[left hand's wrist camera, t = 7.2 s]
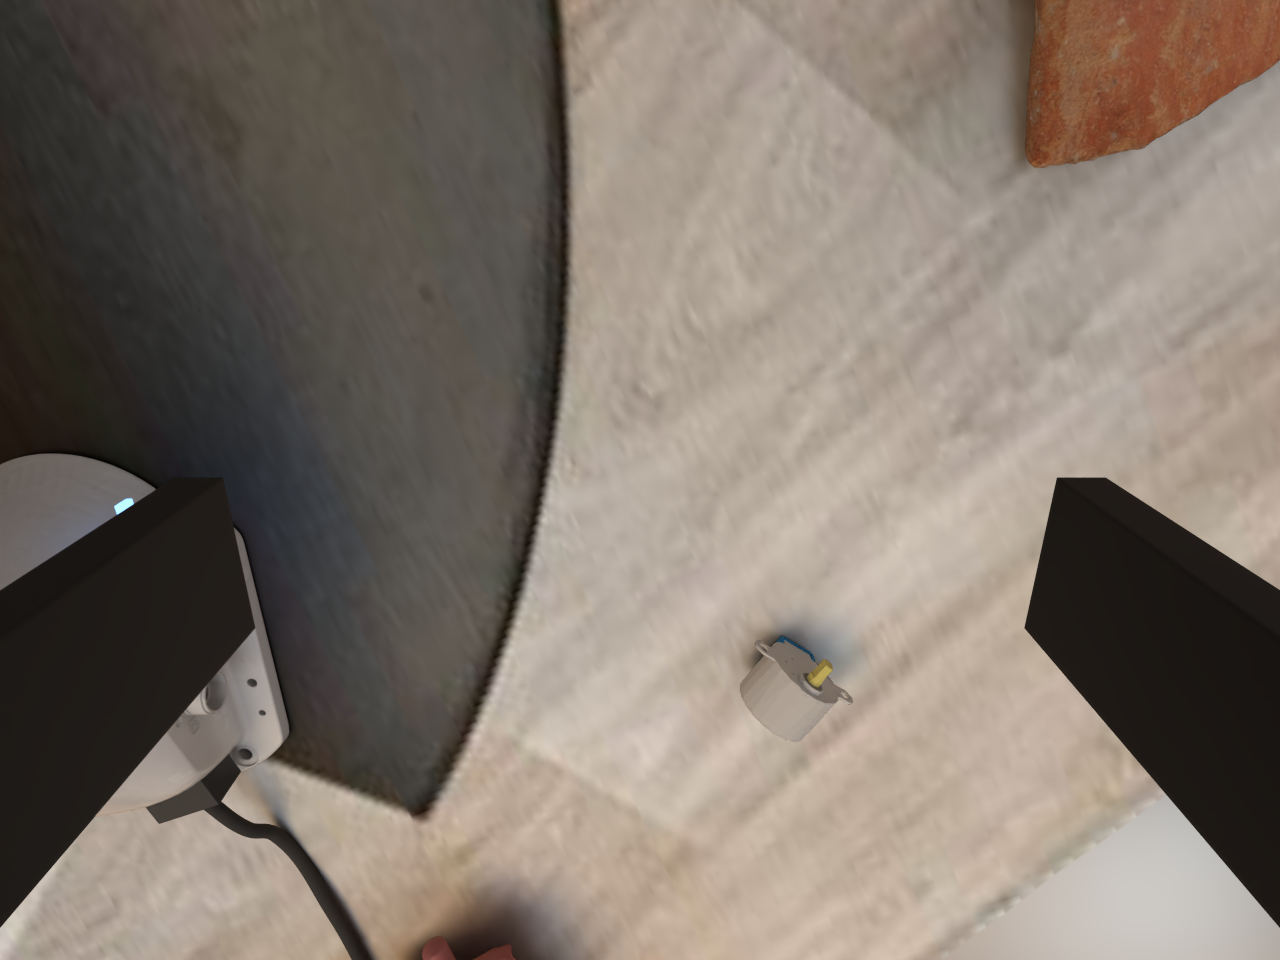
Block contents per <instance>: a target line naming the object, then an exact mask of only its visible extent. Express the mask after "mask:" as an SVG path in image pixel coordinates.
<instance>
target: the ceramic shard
mask: <svg viewBox="0 0 1280 960" xmlns="http://www.w3.org/2000/svg"><path fill="white" fill-rule="evenodd" d="M1034 4H1035V28H1034V42H1033V46H1032V50H1031V59H1030V71H1029V84H1028V98H1027V119H1026V140H1025V151H1026V157H1027V159H1028V161H1029V163H1030V164H1031V165H1032V166H1033V167H1038V168H1044V167H1048V166H1052V165H1062V164H1066V163H1067V164H1076V163H1079V162H1082V161H1088V160H1094V159H1096V158H1098V157H1101V156H1105V155H1109V154H1113V153H1118V152H1123V151H1128V150H1132V149H1135V150H1138V149H1142V148H1144V147H1146V146H1147V145H1148V144H1150V143H1151V142H1152V141H1153V140H1155V139H1156V138H1159V137H1161V136H1163V135H1165V134H1166V133H1168V132H1169V131H1171V130H1172V129H1173V128H1175V127H1177V126H1179V125H1180V124H1182V123H1184V122H1186V121H1188V120H1190V119H1192V118H1193V117H1195V116H1197V115H1199V114H1200V113H1201V112H1202V111H1204V110H1205V109H1206V108H1207V107H1208V106H1209V105H1211V104H1212V103H1214V102H1215V101H1217V100H1218V99H1219V98H1221V97H1223V96H1225V95H1227V94H1228V93H1230V92H1231V91H1233V90H1234V89H1235V88H1237V87H1238V86H1240V85H1242V84H1244V83H1247V82H1249V81H1251V80H1253V79H1255V78H1257V77H1258V76H1260V75H1261V74H1262V73H1264V72H1265V71H1266V70H1268V69H1269V68H1271V67H1272V66H1273V65H1275V64H1276V63H1277V62H1278V61H1279V60H1280V0H1034Z"/></svg>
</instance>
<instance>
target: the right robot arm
mask: <svg viewBox="0 0 1280 960" xmlns="http://www.w3.org/2000/svg"><path fill="white" fill-rule="evenodd" d="M154 490H156V489H155V488H154V487H152V486H151V485H149V484H148V483H146V482H145V481H143V480H141V479H140V478H138V477H136V476H134V475H133V474H131V473H128V472H126V471H124V470H122V469H120V468H118V467H115V466H113V465H110V464H107V463H105V462H102V461H98V460H95V459H91V458H87V457H82V456H77V455H70V454H55V453H48V454H35V455H28V456H23V457H19V458H15V459H12V460H10V461H7V462H4V463H2V464H0V590H1V589H3V588H4V587H6V586H7V585H9V584H11V583H12V582H14V581H15V580H17V579H18V578H20V577H21V576H23V575H24V574H26V573H28V572H29V571H31V570H32V569H34V568H35V567H37V566H38V565H40V564H41V563H43V562H45V561H46V560H48V559H49V558H51V557H52V556H54V555H55V554H57V553H59V552H60V551H62V550H63V549H65V548H66V547H68V546H69V545H71V544H72V543H74V542H76V541H77V540H79V539H80V538H82V537H83V536H85V535H86V534H88V533H89V532H91V531H93V530H94V529H96V528H97V527H99V526H100V525H102V524H103V523H105V522H106V521H108V520H110V519H111V518H113V517H114V516H116V515H117V514H119V513H120V512H122V511H124V510H125V509H127V508H128V507H130V506H131V505H133V504H134V503H136V502H137V501H139V500H141V499H142V498H144V497H145V496H147V495H148V494H150V493H151V492H153V491H154ZM234 531H235V535H236V540H237V545H238V549H239V554H240V559H241V563H242V568H243V572H244V577H245V582H246V586H247V591H248V596H249V600H250V605H251V609H252V614H253V619H254V623H255V629H254V630H253V632H252V633H251V634H250V635H249V636H248V637H247V639H246V640H245V641H244V642H243V643H242V644H241V646H240V647H239V648H238V649H237V650H236V651H235V653H234V654H233V655H232V656H231V657H230V659H229V660H228V661H227V662H226V663H225V664H224V666H223V667H222V668H221V669H220V670H219V671H218V673H217V674H216V675H215V676H214V677H213V678H212V680H211V681H210V682H209V683H208V684H207V686H206V687H205V688H204V689H203V690H202V691H201V693H200V694H199V695H198V696H197V697H196V698H195V700H194V701H193V702H192V703H191V704H190V705H189V707H188V708H187V709H186V710H185V711H184V713H183V714H182V715H181V716H180V717H179V718H178V720H177V721H176V722H175V723H174V724H173V725H172V727H171V728H170V729H169V730H168V731H167V732H166V734H165V735H164V736H163V737H162V738H161V739H160V741H159V742H158V743H157V744H156V745H155V747H154V748H153V749H152V750H151V751H150V752H149V754H148V755H147V756H146V757H145V758H144V759H143V761H142V762H141V763H140V764H139V765H138V766H137V768H136V769H135V770H134V771H133V772H132V774H131V775H130V776H129V777H128V778H127V779H126V781H125V782H124V783H123V784H122V785H121V786H120V788H119V789H118V790H117V791H116V792H115V793H114V795H113V796H112V797H111V798H110V799H109V801H108V802H107V803H106V804H105V805H104V806H103V808H102V809H101V810H100V811H99V812H98V813H97V815H96V816H95V817H98V816H106V815H112V814H118V813H124V812H128V811H133V810H137V809H140V808H144V807H146V808H147V809H148V811H149V812H150V813H151V814H152V816H153V817H154V818H155V819H156V821H157V822H158V823H159V824H160V823H163V822H166V821H169V820H173V819H176V818H179V817H182V816H185V815H188V814H191V813H194V812H197V811H201V810H205V811H206V812H207V813H209V814H210V815H211V816H213V817H214V818H215V819H216V820H218V821H219V822H220V823H222V824H223V825H224V826H226V827H227V828H229V829H231V830H232V831H234V832H236V833H238V834H240V835H242V836H245V837H249V838H266V839H269V840H271V841H272V842H273V843H275V844H276V845H277V846H278V847H279V848H281V849H282V850H283V851H284V852H285V853H286V854H287V855H288V856H289V858H290V859H291V860H292V861H293V862H294V864H295V865H296V867H297V868H298V869H299V871H300V872H301V874H302V875H303V877H304V879H305V880H306V882H307V884H308V885H309V887H310V889H311V890H312V892H313V894H314V896H315V897H316V899H317V901H318V902H319V904H320V906H321V908H322V909H323V911H324V912H325V914H326V916H327V917H328V919H329V920H330V922H331V924H332V925H333V927H334V928H335V930H336V932H337V933H338V935H339V937H340V939H341V940H342V942H343V944H344V946H345V948H346V950H347V951H348V953H349V955H350V957H351V959H352V960H367V958H366V956H365V954H364V952H363V950H362V948H361V946H360V944H359V942H358V940H357V938H356V936H355V934H354V932H353V931H352V929H351V927H350V925H349V924H348V922H347V920H346V918H345V917H344V915H343V914H342V912H341V910H340V909H339V907H338V905H337V904H336V902H335V901H334V899H333V897H332V896H331V894H330V892H329V890H328V889H327V887H326V885H325V883H324V882H323V880H322V878H321V876H320V875H319V873H318V871H317V870H316V868H315V866H314V865H313V863H312V862H311V860H310V859H309V857H308V856H307V855H306V853H305V852H304V851H303V850H302V848H301V847H300V846H299V845H298V844H297V842H296V841H295V840H294V839H293V838H291V837H290V836H289V835H288V834H287V833H286V832H284V831H283V830H282V829H280V828H279V827H277V826H274V825H270V824H255V823H252V822H250V821H248V820H246V819H244V818H242V817H241V816H239V815H238V814H236V813H235V812H234V811H232V810H231V809H230V808H228V807H227V806H226V805H225V804H224V803H222V802H221V801H222V799H223V798H224V796H225V795H226V793H227V792H228V790H229V789H230V787H231V786H232V784H233V783H234V781H235V780H236V778H237V777H238V775H239V774H240V772H242V771H245V770H247V769H249V768H251V767H253V766H255V765H257V764H259V763H260V762H262V761H263V760H265V759H266V758H268V757H269V756H270V755H271V754H273V753H274V752H275V751H276V750H277V749H278V748H279V747H280V746H281V744H282V743H283V742H284V741H285V740H286V738H287V737H288V735H289V724H288V720H287V715H286V711H285V707H284V703H283V699H282V695H281V691H280V687H279V683H278V679H277V674H276V670H275V666H274V662H273V658H272V654H271V650H270V646H269V642H268V638H267V634H266V630H265V626H264V622H263V617H262V613H261V609H260V605H259V601H258V597H257V593H256V589H255V585H254V581H253V577H252V573H251V569H250V565H249V561H248V556H247V552H246V548H245V544H244V541H243V538H242V536H241V534H240V533H239V532H238V531H237V530H236V529H235V528H234ZM246 749H248V750H249V751H248V750H246Z"/></svg>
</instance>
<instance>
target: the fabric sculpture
mask: <svg viewBox="0 0 1280 960" xmlns="http://www.w3.org/2000/svg"><path fill="white" fill-rule="evenodd" d="M422 958H423V960H456V959H455V958H454V955H453V953H452V951H451V950H450V948H449V946H448V944H447V942H446V940H445V939H444V938H443V937H440V936H438V937H434V938H432V939H430V940H429V941H428V942H427V943H426V944H425V946H424V948H423V951H422ZM472 960H516V959H515V958H514V957H513V956H512V947H511V945H509V944H507V945H504V946H502V947H499V948H492V949H490V950H489V951H487V952H486V953H485V954H483V955H480V956H479V957H477V958H475V959H472Z"/></svg>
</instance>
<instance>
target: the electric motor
mask: <svg viewBox="0 0 1280 960" xmlns="http://www.w3.org/2000/svg"><path fill="white" fill-rule="evenodd" d="M755 646H756V647H757V649H758V650H759V651H760V652H761V653H762V654H763V655H764V656H763V657H762V658H761V660H760V661H759V662H758V663H757V664H756V666H755V667H754V668H753V669H752V670H751V671H750V673H749V674H748V675H747V676H746V677H745V679H744V680H743V681H742V682H741V684H740V693H741V696H742V698H743V701H744V703H745V705H746V706H747V708H748V709H749V711H750V712H751V713H752V715H753V716H754V717H755V718H756V719H757V720H758V721H759V722H760V723H761V724H762V725H763V726H764V727H766V728H767V729H768V730H769V731H771V732H772V733H773V734H775V735H777V736H779V737H781V738H783V739H785V740H788V741H793V742H797V741H801V740H802V739H803V738H804V737H805V736H806V735H807V733H808V732H809V731H810V730H811V729H812V728H813V727H814V726H815V725H816V724H817V723H818V722H819V720H820V719H821V718H822V717H823V716H824V715H825V714H826V713H827V712H828V711H829V710H830V709H831V708H832V706H833V705H834V704H835V703H836V702H837V701H838V699H839V700H841V701H843V702H845V703H847V704H852V703H853V700H852V697H851V696H850V695H849V694H848V693H847V692H846V691H845V690H843V689H842V688H840V687H838V686H836V685H835V684H833V682H832V680H831V679H830V678H829V676H828V675H829V674H830V673H831V672H832V670H833V667H832V665H831V663H830V662H829V661H827V660H825V659H823V660H822V662H821V663H820V664H819V665H817V664H816V663H815V659H814V657H813V655H812V654H811V653H810V652H809V651H807V650H805V649H804V648H802V647H800V646H799V645H797V644H795V643H794V642H792V641H790V640H789V639H787V638H785V637H784V636H781V637H780V638H779V639H778V640H777V642H776V643H774V644H773V645H772V647H770V646H768V645H767V644H765V643H763V642H762V641H756V642H755ZM761 646H763V647H764V648H765V649H766V650H767V652H766V651H764V650H763V649H762V647H761ZM841 693H843V694H844V695H845V696H846V697H847V699H846V698H845V697H844V696H843V695H842V694H841Z"/></svg>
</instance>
